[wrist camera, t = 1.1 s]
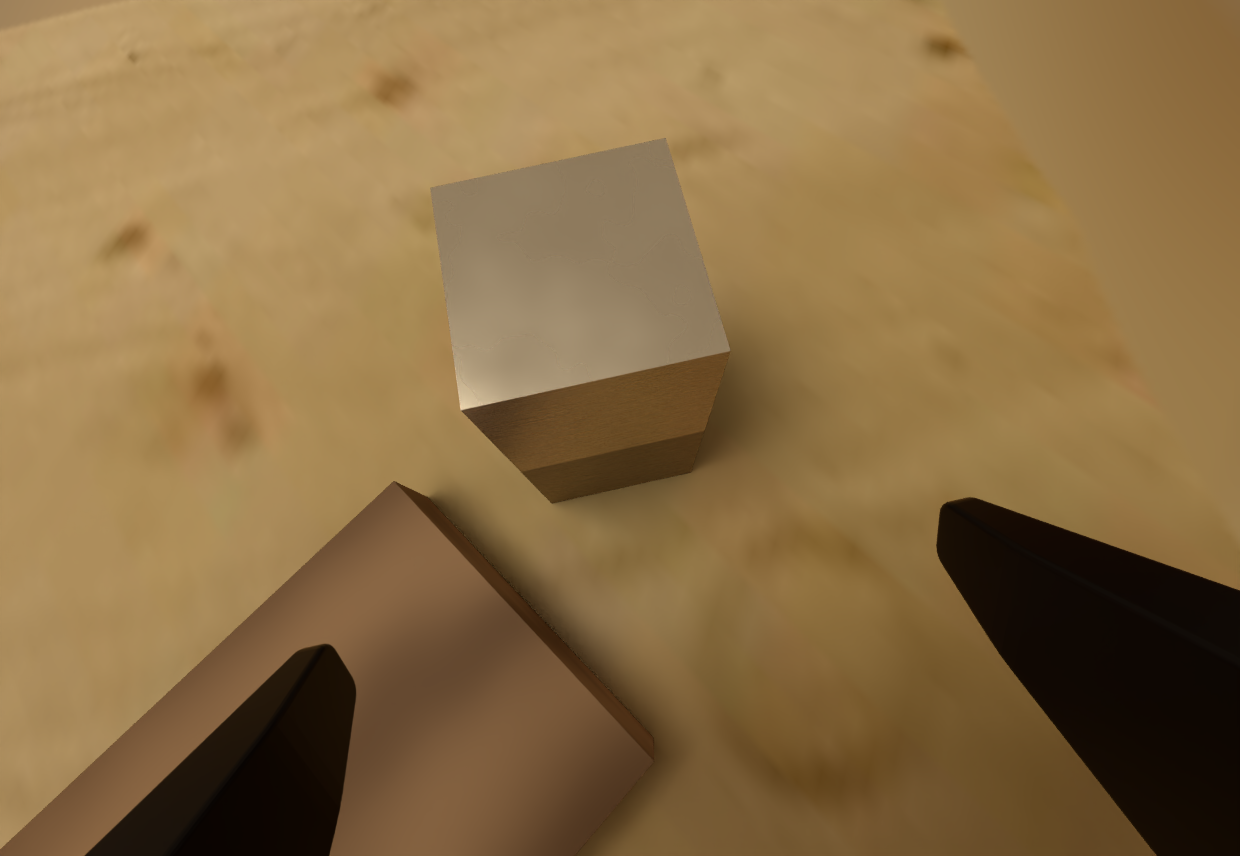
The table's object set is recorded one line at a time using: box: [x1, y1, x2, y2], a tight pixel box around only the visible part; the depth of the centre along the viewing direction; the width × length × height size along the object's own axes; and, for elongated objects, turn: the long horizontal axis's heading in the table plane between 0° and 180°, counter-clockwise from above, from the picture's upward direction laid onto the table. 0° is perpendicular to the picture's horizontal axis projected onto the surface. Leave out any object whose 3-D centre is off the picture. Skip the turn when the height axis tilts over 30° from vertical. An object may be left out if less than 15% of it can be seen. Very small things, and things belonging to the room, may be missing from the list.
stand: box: [0, 481, 654, 856], centre depth 17 cm, size 12×18×3 cm, turn 136°
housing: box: [430, 138, 731, 503], centre depth 17 cm, size 6×6×11 cm
